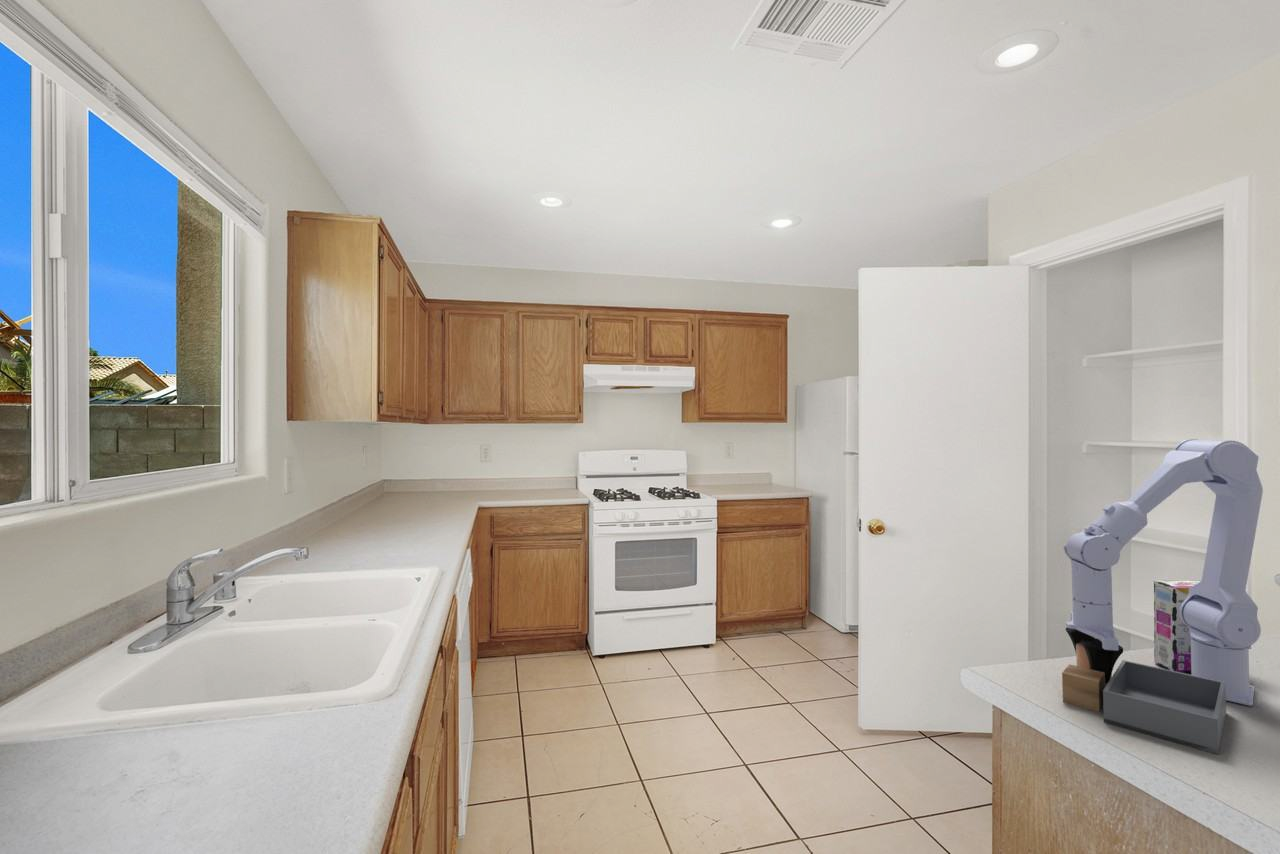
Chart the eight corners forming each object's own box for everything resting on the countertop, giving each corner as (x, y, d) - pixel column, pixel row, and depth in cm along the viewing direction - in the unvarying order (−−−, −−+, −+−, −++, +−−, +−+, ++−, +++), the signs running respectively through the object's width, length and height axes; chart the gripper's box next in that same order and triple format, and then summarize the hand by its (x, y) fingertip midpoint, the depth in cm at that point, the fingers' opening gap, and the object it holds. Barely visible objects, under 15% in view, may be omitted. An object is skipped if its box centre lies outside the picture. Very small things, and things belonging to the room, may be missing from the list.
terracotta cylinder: (1080, 677, 109) (1079, 640, 109) (1114, 686, 105) (1113, 647, 105) (1074, 686, 105) (1073, 647, 105) (1109, 695, 102) (1108, 655, 102)
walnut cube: (1070, 692, 103) (1069, 664, 103) (1105, 701, 100) (1104, 672, 100) (1062, 701, 100) (1062, 672, 100) (1099, 711, 96) (1098, 681, 96)
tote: (1123, 687, 104) (1122, 660, 104) (1226, 713, 95) (1225, 682, 95) (1103, 722, 93) (1103, 690, 93) (1218, 754, 83) (1217, 719, 83)
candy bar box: (1176, 674, 109) (1173, 587, 109) (1153, 663, 114) (1151, 580, 114) (1237, 673, 109) (1235, 586, 109) (1212, 662, 114) (1209, 579, 114)
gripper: (1051, 588, 113) (1053, 657, 113) (1082, 611, 100) (1084, 690, 100) (1094, 590, 111) (1096, 661, 111) (1132, 614, 97) (1134, 695, 97)
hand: (1094, 675), depth 105 cm, fingers closed on terracotta cylinder, 5 cm apart
